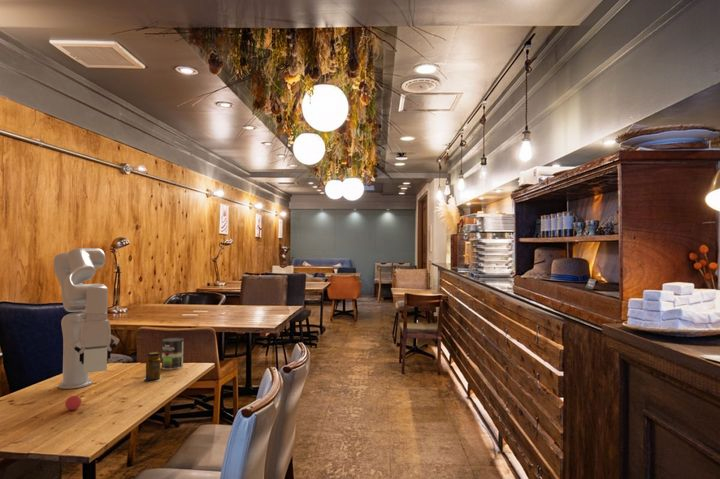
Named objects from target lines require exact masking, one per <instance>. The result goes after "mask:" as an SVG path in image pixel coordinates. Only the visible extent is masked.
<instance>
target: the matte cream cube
mask: <svg viewBox="0 0 720 479" xmlns="http://www.w3.org/2000/svg"><path fill="white" fill-rule="evenodd" d="M107 368H108V361H107V347H105V346H102V347H92V348H86V349H84V364H83V372H84V373H88V374H89V373H96V372H104V371H105V372H107V371H108V370H107Z"/></svg>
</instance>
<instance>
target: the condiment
mask: <svg viewBox="0 0 720 479" xmlns="http://www.w3.org/2000/svg"><path fill="white" fill-rule="evenodd" d="M160 355H161V353H160V352H159V351H151V352H147V354H146V356H147V357H146V360H145V377H144V378H143V383H152V382H153V383H154V382H162V376H161V358H160V357H161V356H160Z"/></svg>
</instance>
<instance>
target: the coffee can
mask: <svg viewBox="0 0 720 479" xmlns="http://www.w3.org/2000/svg"><path fill="white" fill-rule="evenodd" d="M184 340H185V339H184V337H183V338H182V337H168V338H163V339H162V340H161V366H160V369H162V370H166V371H167V370H169V371H170V370H171V371H172V370H178V369H181V368H183V367H184Z"/></svg>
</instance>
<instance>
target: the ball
mask: <svg viewBox="0 0 720 479" xmlns="http://www.w3.org/2000/svg"><path fill="white" fill-rule="evenodd" d="M64 404H65V407H66V409H67V410H69V411H75V410H77V409H79V407H81V405H82V399H81V397H80V396H78V395H71V396H69V397H68V398H67V399H66V401H65V403H64Z"/></svg>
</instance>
